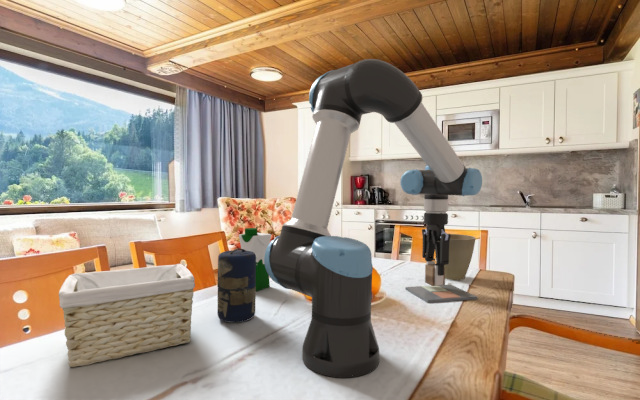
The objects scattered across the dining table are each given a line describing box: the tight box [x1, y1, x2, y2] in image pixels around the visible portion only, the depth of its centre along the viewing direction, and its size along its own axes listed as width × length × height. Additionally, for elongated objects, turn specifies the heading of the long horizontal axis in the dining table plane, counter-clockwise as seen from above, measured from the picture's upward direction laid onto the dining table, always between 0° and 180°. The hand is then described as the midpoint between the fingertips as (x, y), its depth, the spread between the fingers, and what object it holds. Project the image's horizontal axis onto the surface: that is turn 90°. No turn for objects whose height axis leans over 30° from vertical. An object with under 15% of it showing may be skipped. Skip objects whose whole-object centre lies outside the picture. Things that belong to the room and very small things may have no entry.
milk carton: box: [238, 227, 272, 292], centre depth 118 cm, size 9×9×20 cm
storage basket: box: [58, 263, 196, 368], centre depth 76 cm, size 24×16×15 cm
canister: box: [217, 247, 257, 323], centre depth 90 cm, size 10×10×18 cm
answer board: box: [405, 284, 478, 304], centre depth 113 cm, size 17×14×1 cm
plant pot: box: [444, 233, 476, 281], centre depth 134 cm, size 15×15×16 cm
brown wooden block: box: [424, 263, 446, 286], centre depth 117 cm, size 4×4×6 cm
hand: (434, 282), depth 117 cm, fingers closed on brown wooden block, 4 cm apart
